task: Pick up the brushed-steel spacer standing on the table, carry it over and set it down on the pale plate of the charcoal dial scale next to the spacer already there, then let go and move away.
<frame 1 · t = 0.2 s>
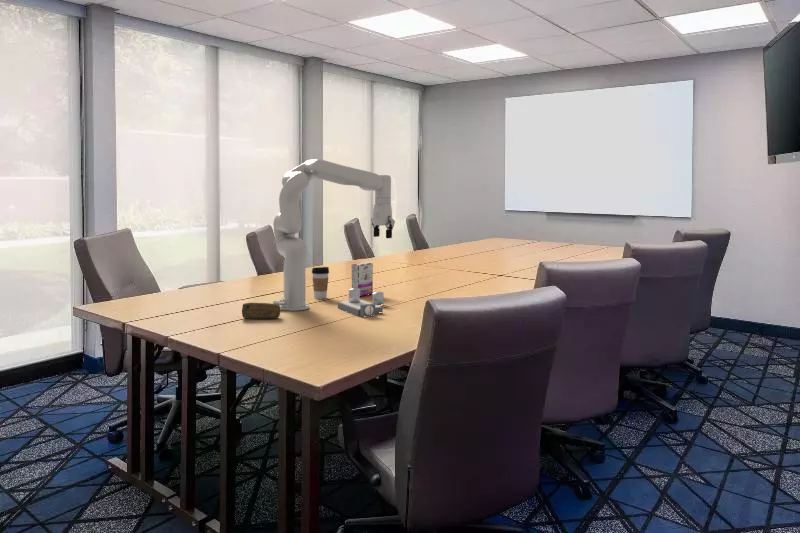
hand: (382, 237, 282), 30 cm above the table, tool pointing down, fingers open, 9 cm apart
candy bar box: (362, 296, 297), on the table
spacer b: (354, 302, 264), point 3 cm above the table, touching scale
coffee cup: (320, 298, 289), on the table
scale: (359, 310, 260), on the table
spacer a: (377, 305, 273), on the table
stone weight: (261, 319, 241), on the table
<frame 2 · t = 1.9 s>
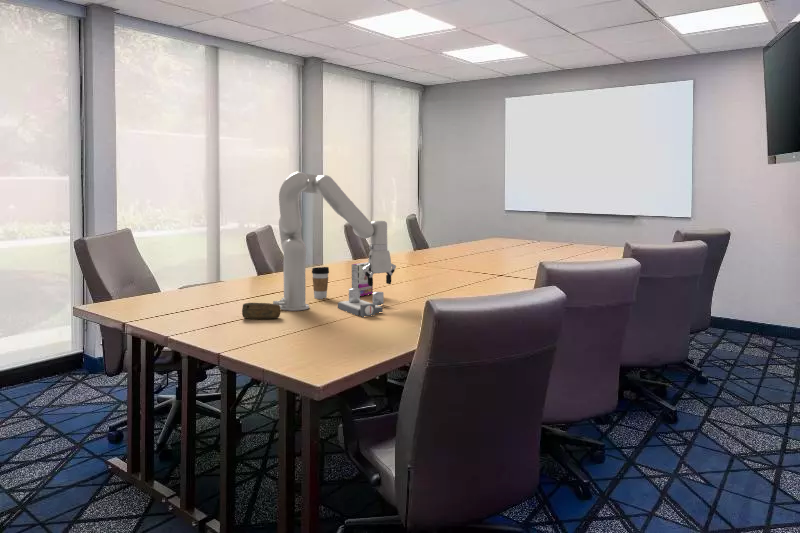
hand: (379, 284, 272), 10 cm above the table, tool pointing down, fingers open, 9 cm apart
nothing on the table moved.
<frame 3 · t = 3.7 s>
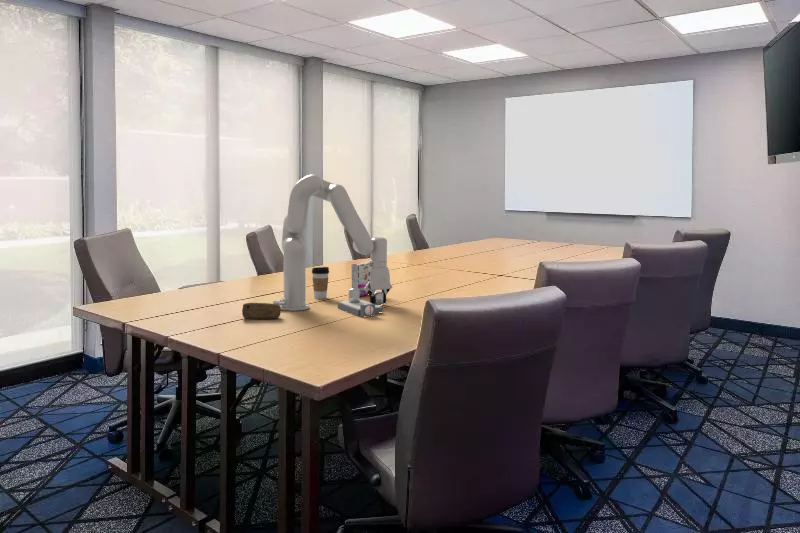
hand: (378, 303, 273), 1 cm above the table, tool pointing down, fingers closed on spacer a, 5 cm apart
spacer a: (377, 305, 273), on the table, touching gripper
everything else where it was.
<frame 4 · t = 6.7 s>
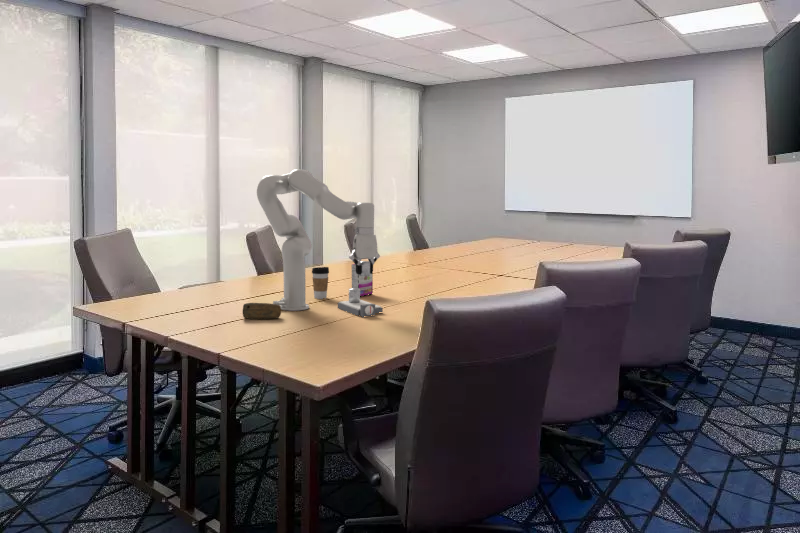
hand: (364, 273, 255), 17 cm above the table, tool pointing down, fingers closed on spacer a, 5 cm apart
spacer a: (364, 275, 255), point 16 cm above the table, touching gripper
everything else where it was.
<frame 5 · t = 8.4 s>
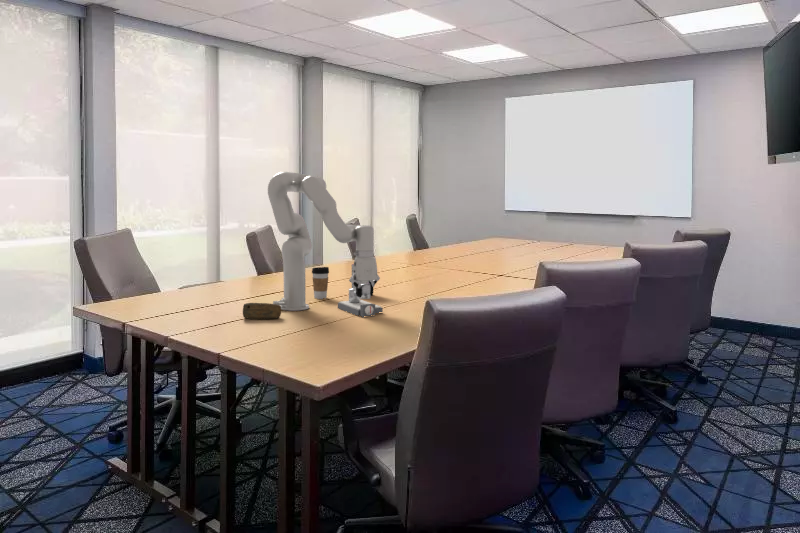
hand: (364, 295, 256), 7 cm above the table, tool pointing down, fingers closed on spacer a, 5 cm apart
spacer a: (364, 297, 256), point 6 cm above the table, touching gripper
everything else where it was.
when the fingers open (5 cm above the table, at t = 9.8 s): spacer a stays where it is, resting on scale.
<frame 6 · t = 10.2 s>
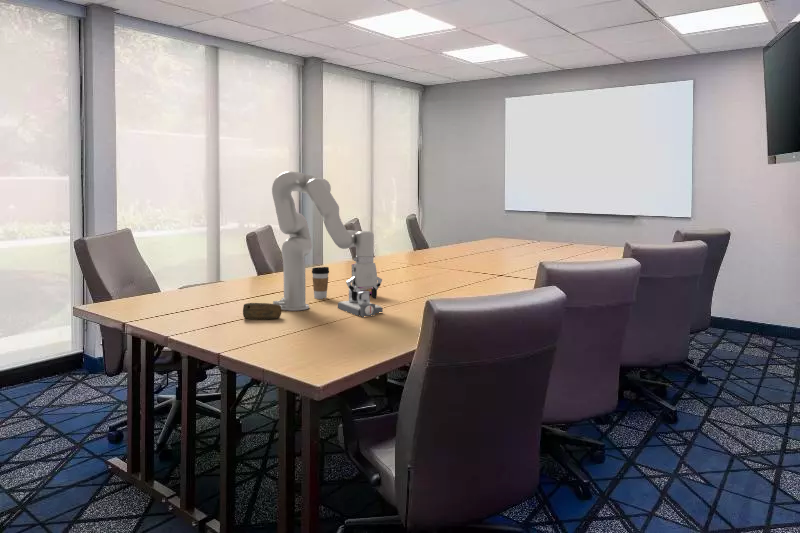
hand: (364, 299, 256), 6 cm above the table, tool pointing down, fingers open, 9 cm apart
spacer a: (363, 305, 256), point 3 cm above the table, touching scale
everything else where it was.
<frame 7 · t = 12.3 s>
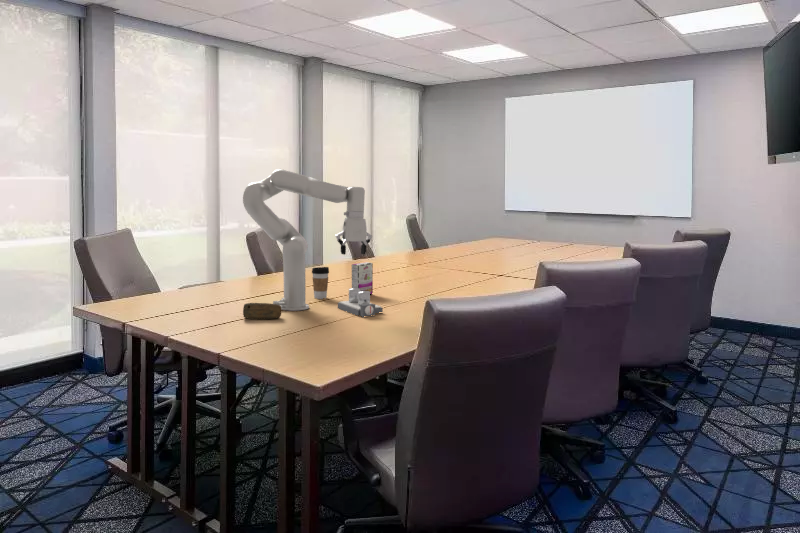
hand: (353, 254, 260), 25 cm above the table, tool pointing down, fingers open, 9 cm apart
nothing on the table moved.
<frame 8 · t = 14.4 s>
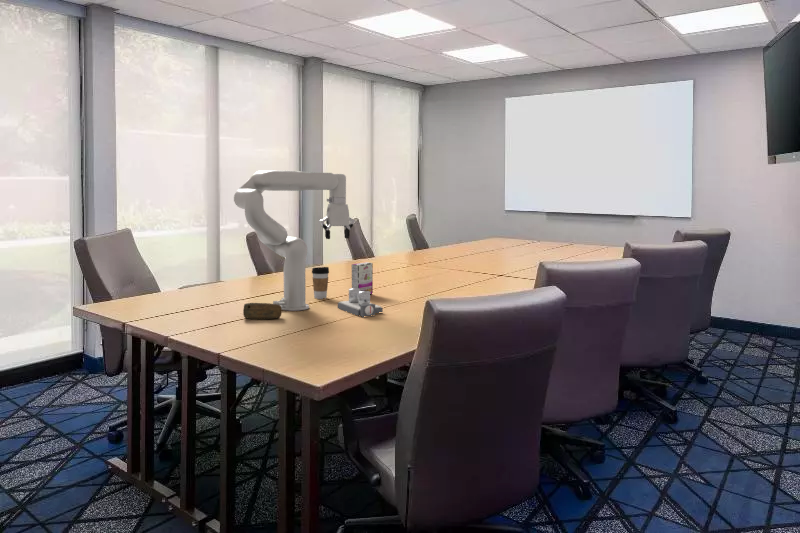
hand: (337, 238, 272), 30 cm above the table, tool pointing down, fingers open, 9 cm apart
nothing on the table moved.
at the end: spacer a inside the target area on the scale (0.1 cm from its centre), point 3.1 cm above the scale's base; spacer a tilted 2°; the gripper is holding nothing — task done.
